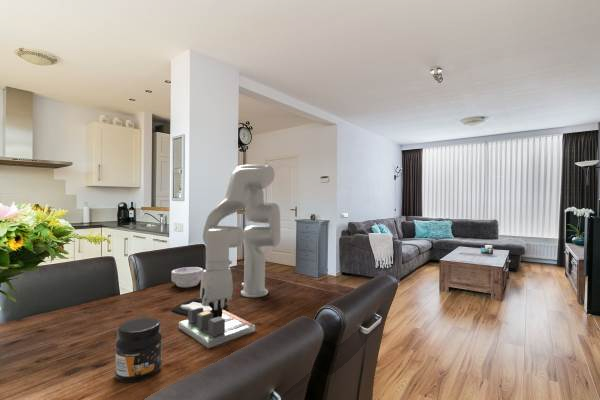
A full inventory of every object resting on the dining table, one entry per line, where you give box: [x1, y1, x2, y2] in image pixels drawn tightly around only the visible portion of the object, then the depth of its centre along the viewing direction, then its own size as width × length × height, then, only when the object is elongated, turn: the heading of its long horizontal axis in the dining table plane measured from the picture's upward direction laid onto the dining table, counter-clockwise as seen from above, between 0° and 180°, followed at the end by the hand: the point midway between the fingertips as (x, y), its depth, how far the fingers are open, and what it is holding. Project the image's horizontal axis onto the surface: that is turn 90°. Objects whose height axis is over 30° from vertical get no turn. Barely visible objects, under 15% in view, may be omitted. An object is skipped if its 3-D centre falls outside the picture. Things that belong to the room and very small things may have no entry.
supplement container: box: [114, 317, 163, 383], centre depth 77 cm, size 10×10×12 cm
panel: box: [178, 309, 256, 349], centre depth 103 cm, size 20×17×2 cm
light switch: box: [170, 297, 229, 317], centre depth 121 cm, size 20×3×14 cm
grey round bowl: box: [171, 266, 204, 288], centre depth 155 cm, size 15×15×8 cm
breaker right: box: [208, 317, 225, 336], centre depth 95 cm, size 3×4×4 cm
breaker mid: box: [197, 311, 213, 329], centre depth 100 cm, size 3×4×4 cm
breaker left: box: [187, 306, 203, 323], centre depth 105 cm, size 3×4×4 cm
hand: (217, 319), depth 103 cm, fingers closed
